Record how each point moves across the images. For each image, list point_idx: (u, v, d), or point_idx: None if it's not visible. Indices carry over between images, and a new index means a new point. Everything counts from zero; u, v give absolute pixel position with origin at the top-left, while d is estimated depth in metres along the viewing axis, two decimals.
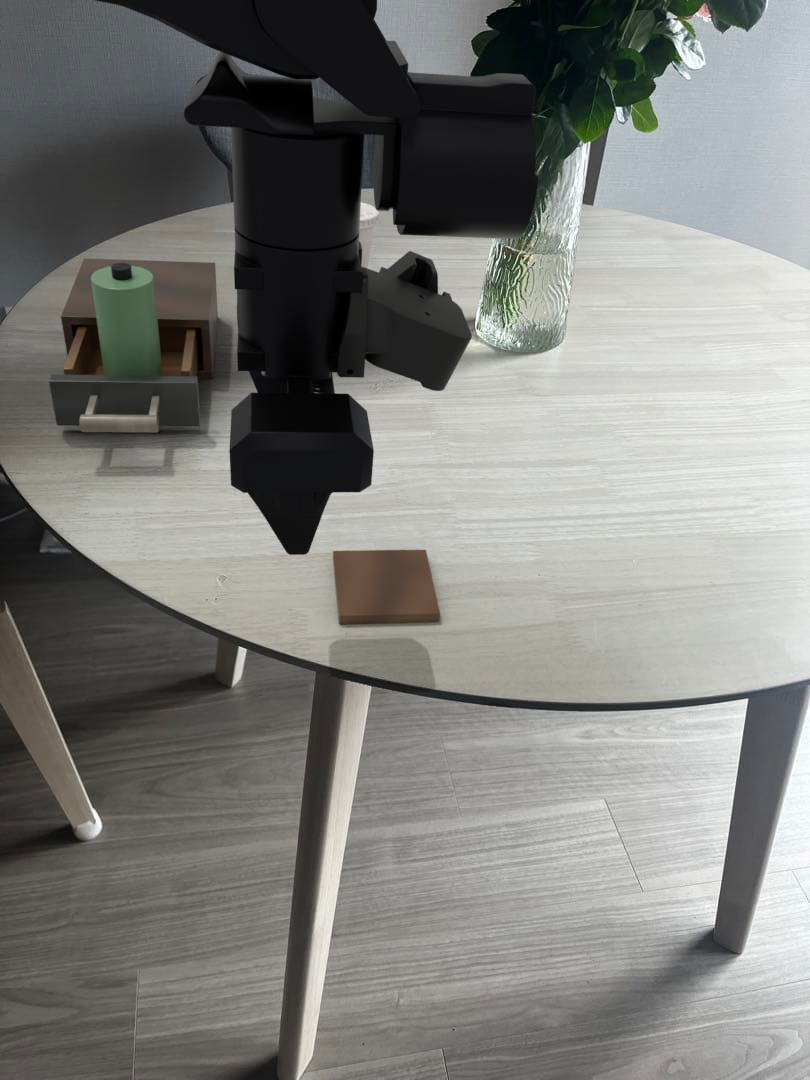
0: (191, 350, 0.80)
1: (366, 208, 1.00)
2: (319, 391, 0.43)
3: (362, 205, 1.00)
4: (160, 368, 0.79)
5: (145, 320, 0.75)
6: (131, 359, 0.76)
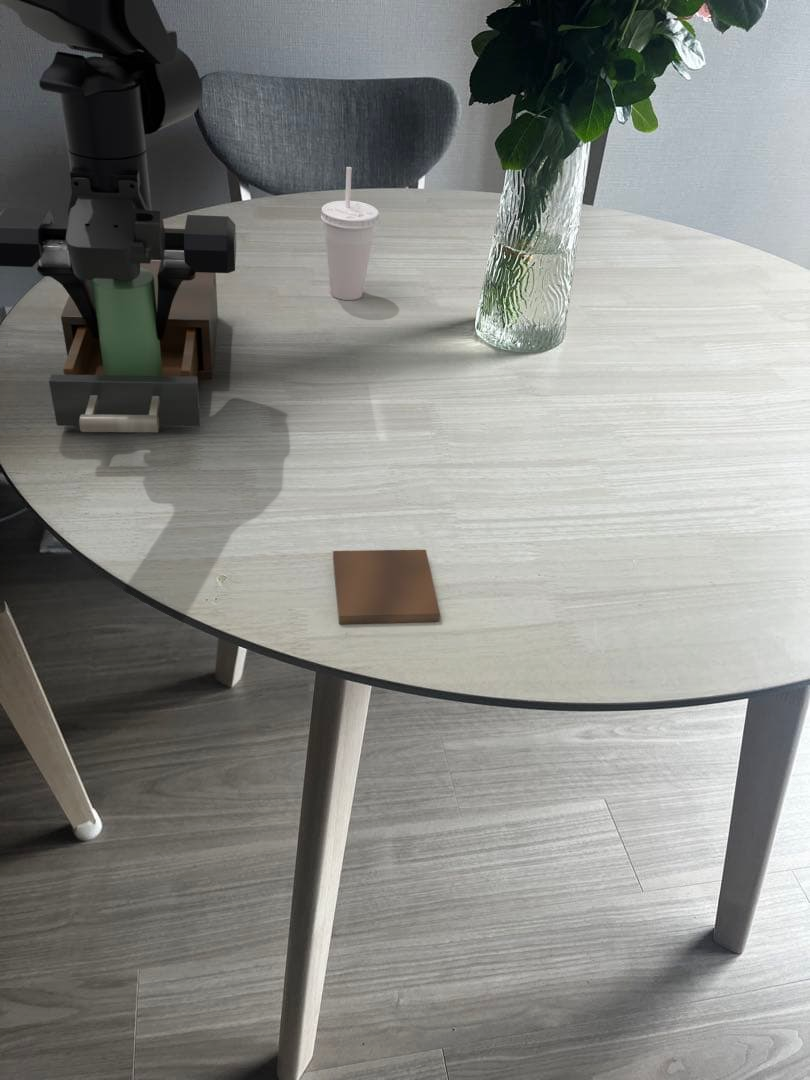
0: (191, 350, 0.80)
1: (366, 208, 1.00)
2: None
3: (362, 205, 1.00)
4: (160, 368, 0.79)
5: (145, 320, 0.75)
6: (131, 359, 0.76)
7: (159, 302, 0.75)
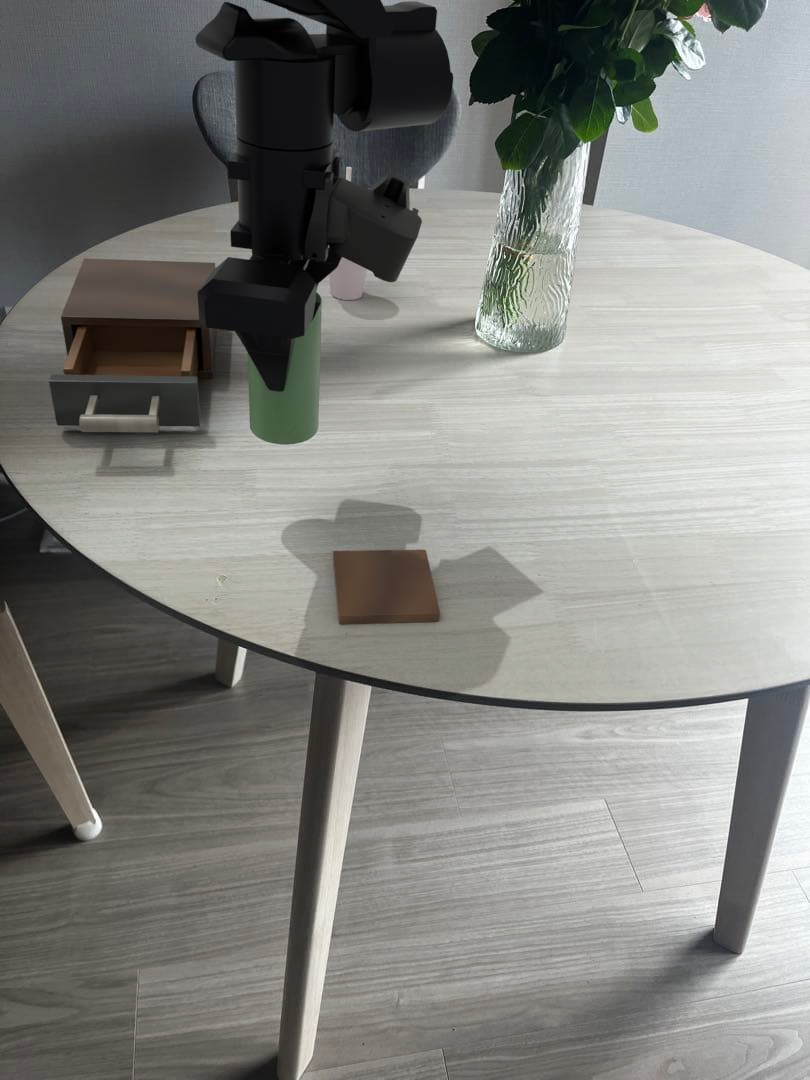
0: (191, 350, 0.80)
1: None
2: None
3: None
4: None
5: None
6: (319, 384, 0.64)
7: None
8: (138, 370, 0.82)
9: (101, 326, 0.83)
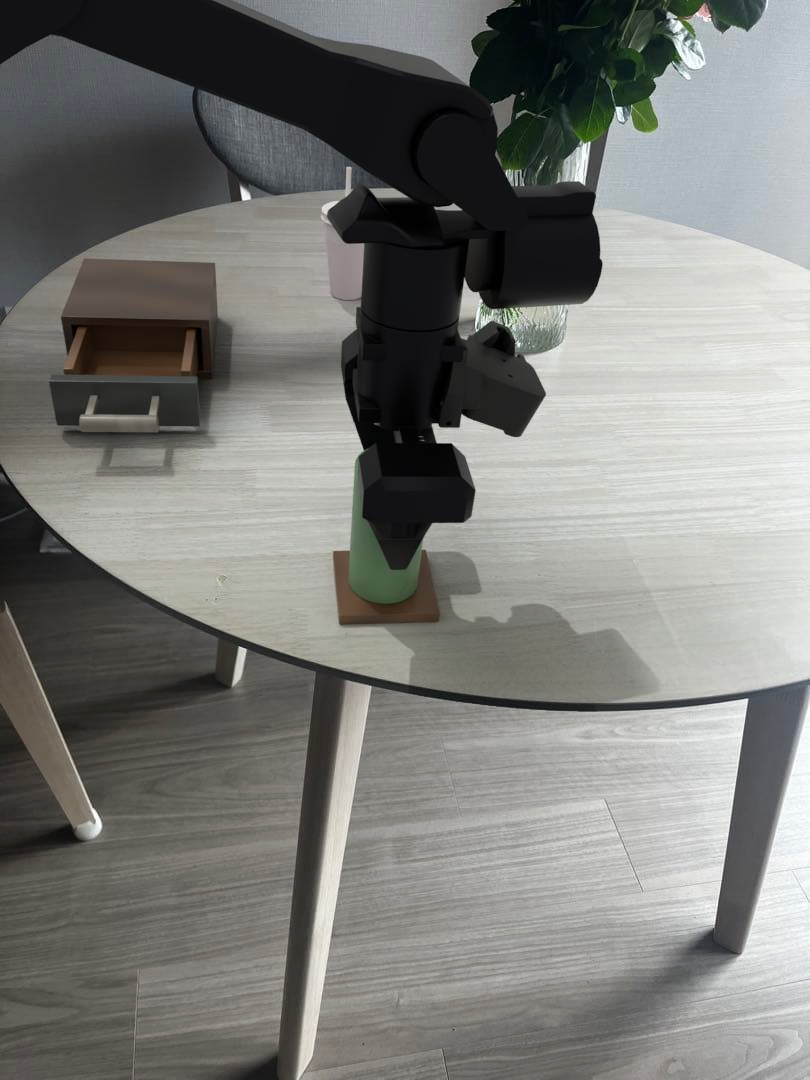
0: (191, 350, 0.80)
1: None
2: (423, 439, 0.53)
3: None
4: None
5: None
6: None
7: None
8: (138, 370, 0.82)
9: (101, 326, 0.83)
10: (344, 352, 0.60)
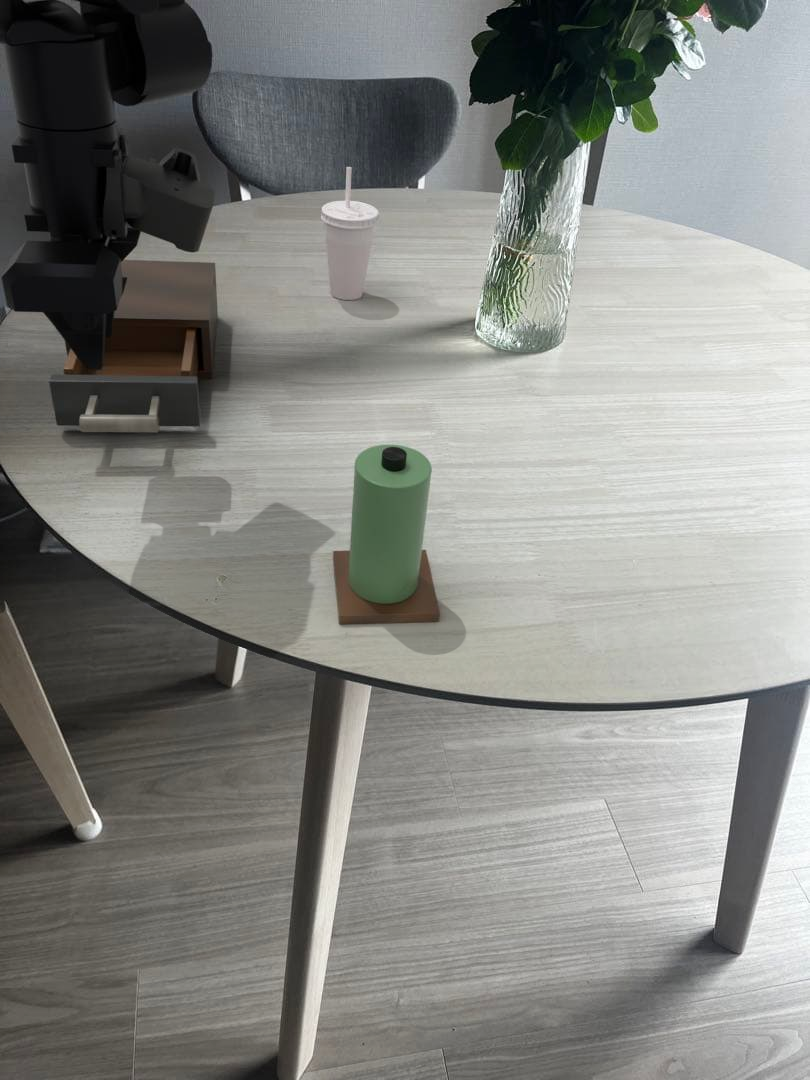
0: (191, 350, 0.80)
1: (366, 208, 1.00)
2: None
3: (362, 205, 1.00)
4: None
5: None
6: None
7: None
8: (138, 370, 0.82)
9: None
10: None
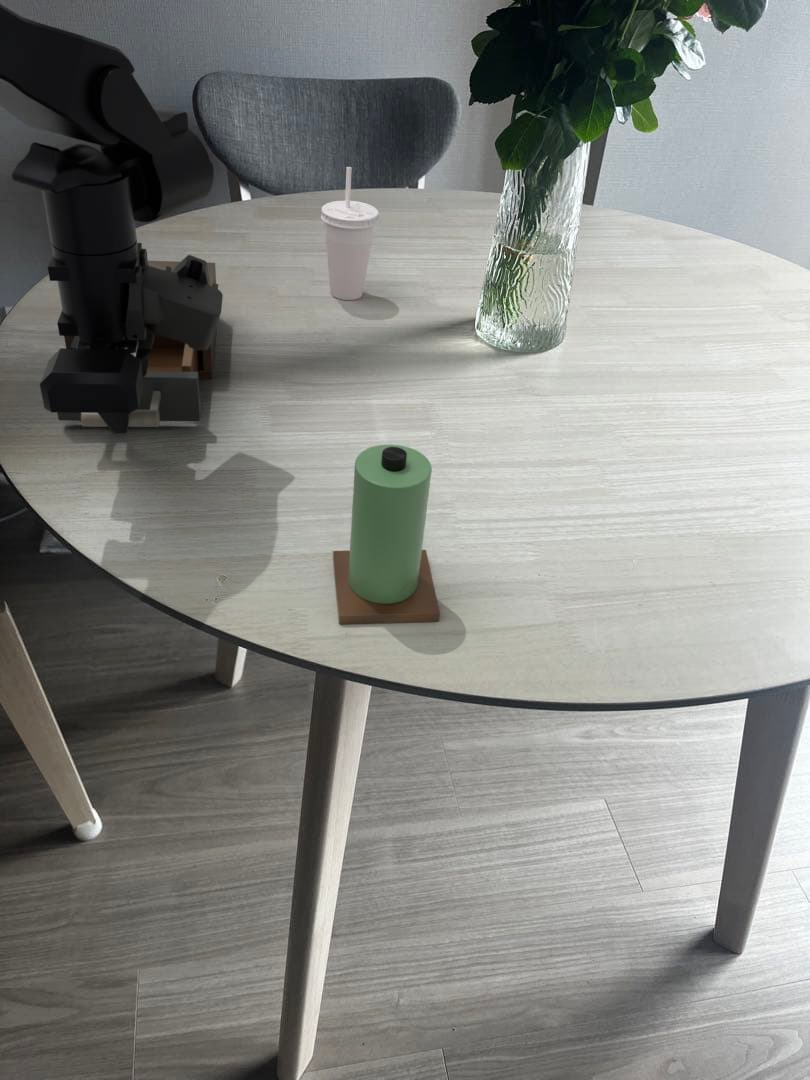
0: None
1: (366, 208, 1.00)
2: None
3: (362, 205, 1.00)
4: None
5: None
6: None
7: None
8: None
9: None
10: None
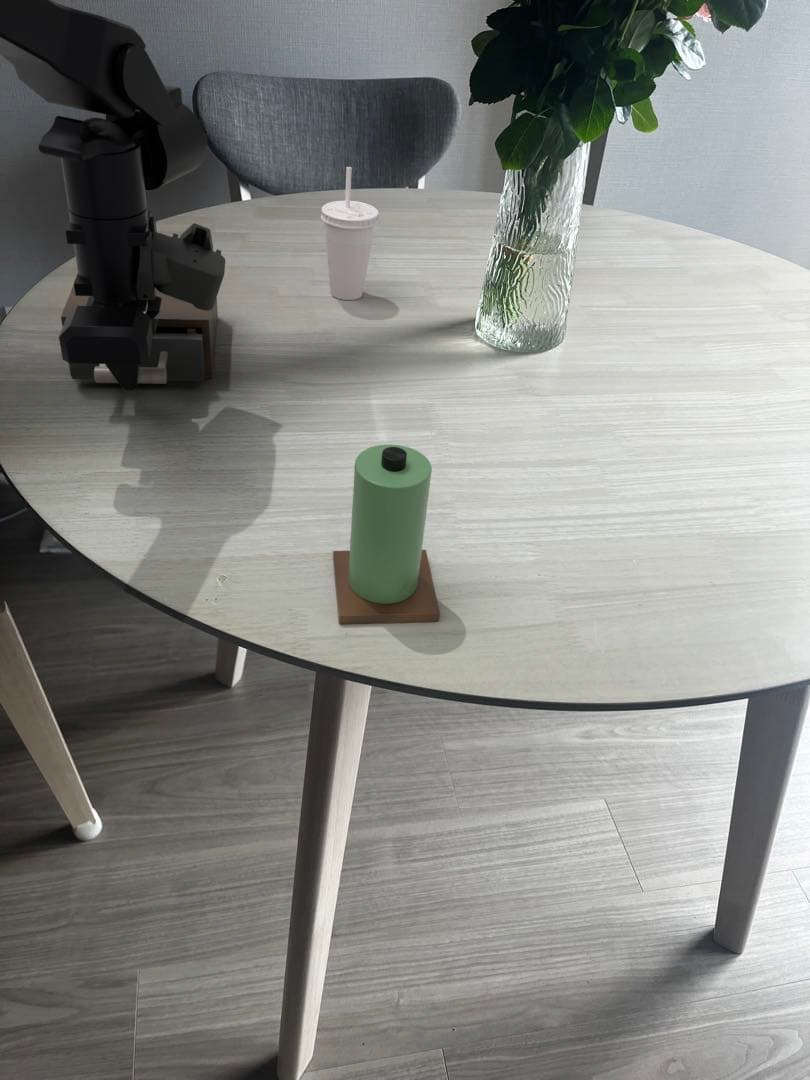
0: None
1: (366, 208, 1.00)
2: None
3: (362, 205, 1.00)
4: None
5: None
6: None
7: None
8: None
9: None
10: None
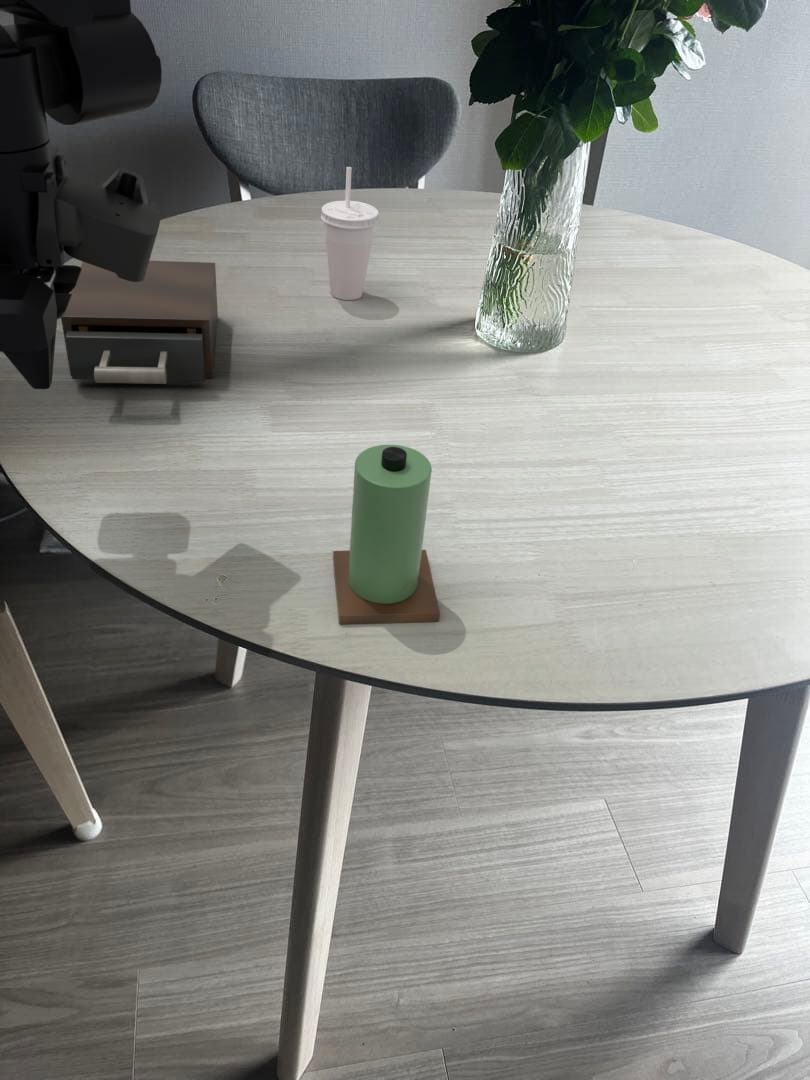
0: None
1: (366, 208, 1.00)
2: None
3: (362, 205, 1.00)
4: None
5: None
6: None
7: None
8: (147, 331, 0.89)
9: None
10: None
